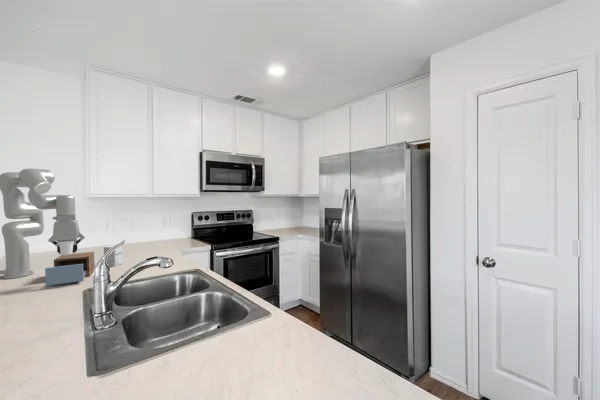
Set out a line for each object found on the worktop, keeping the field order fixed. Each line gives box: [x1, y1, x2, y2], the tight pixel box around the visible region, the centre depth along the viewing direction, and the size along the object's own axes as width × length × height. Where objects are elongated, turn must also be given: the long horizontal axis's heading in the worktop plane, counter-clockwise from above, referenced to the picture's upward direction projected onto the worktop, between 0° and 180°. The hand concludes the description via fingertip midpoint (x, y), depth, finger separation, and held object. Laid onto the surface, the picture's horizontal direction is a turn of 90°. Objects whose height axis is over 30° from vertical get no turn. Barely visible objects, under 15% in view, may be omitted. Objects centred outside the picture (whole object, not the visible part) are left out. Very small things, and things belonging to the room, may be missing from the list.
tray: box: [44, 264, 87, 287], centre depth 141 cm, size 14×15×9 cm
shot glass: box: [59, 240, 74, 256], centre depth 140 cm, size 7×7×7 cm
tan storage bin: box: [53, 251, 95, 278], centre depth 153 cm, size 14×15×12 cm
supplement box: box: [103, 244, 123, 268], centre depth 175 cm, size 7×7×13 cm
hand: (67, 252), depth 140 cm, fingers closed on shot glass, 5 cm apart
